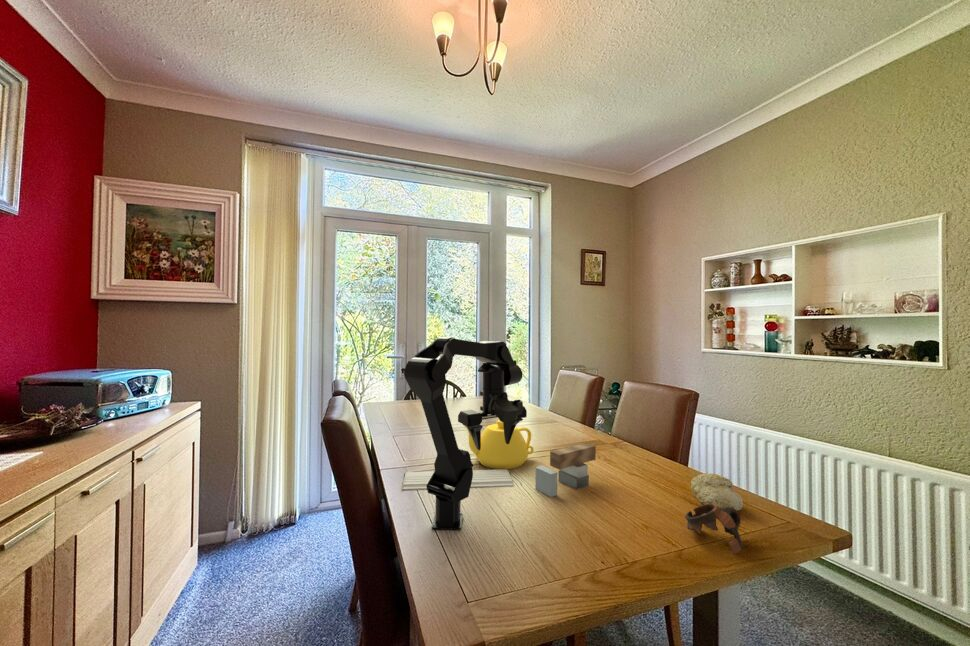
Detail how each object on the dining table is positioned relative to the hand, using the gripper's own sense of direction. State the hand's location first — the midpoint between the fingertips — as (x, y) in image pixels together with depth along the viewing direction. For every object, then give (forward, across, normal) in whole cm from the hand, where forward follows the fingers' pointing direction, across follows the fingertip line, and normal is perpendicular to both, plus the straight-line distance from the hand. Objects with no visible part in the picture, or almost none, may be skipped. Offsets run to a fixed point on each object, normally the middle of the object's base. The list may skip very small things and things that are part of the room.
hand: (493, 446), depth 98 cm
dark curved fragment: (+14, +29, -42) cm, 53 cm away
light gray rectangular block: (+13, +14, -5) cm, 20 cm away
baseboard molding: (+14, -4, +13) cm, 19 cm away
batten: (+7, +24, -5) cm, 26 cm away
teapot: (+14, +16, +21) cm, 30 cm away
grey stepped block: (+13, +24, -5) cm, 28 cm away
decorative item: (+14, +47, -33) cm, 59 cm away
